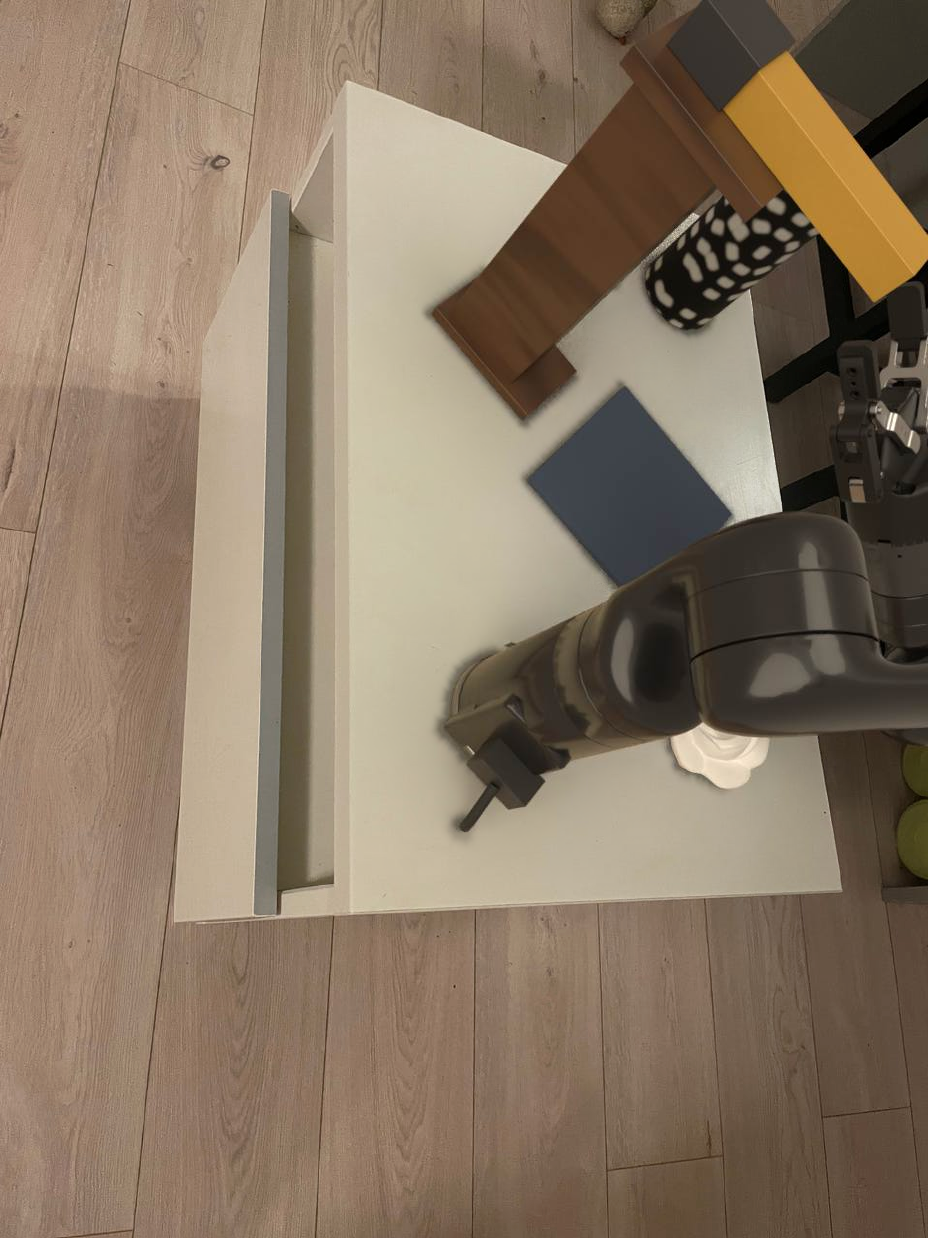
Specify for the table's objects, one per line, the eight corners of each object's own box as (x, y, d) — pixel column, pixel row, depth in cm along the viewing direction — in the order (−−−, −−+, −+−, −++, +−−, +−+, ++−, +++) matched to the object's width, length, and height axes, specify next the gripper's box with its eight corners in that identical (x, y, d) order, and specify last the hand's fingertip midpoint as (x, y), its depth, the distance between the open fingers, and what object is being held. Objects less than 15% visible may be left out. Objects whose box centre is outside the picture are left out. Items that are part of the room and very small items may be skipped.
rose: (801, 774, 78) (717, 794, 74) (763, 780, 82) (681, 799, 78) (770, 660, 80) (686, 672, 76) (734, 671, 84) (652, 683, 79)
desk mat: (645, 618, 81) (649, 616, 81) (526, 480, 79) (529, 477, 79) (728, 516, 89) (732, 513, 89) (621, 388, 87) (625, 385, 87)
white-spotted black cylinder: (706, 343, 94) (867, 219, 77) (641, 307, 91) (793, 170, 74) (712, 280, 98) (868, 148, 81) (649, 243, 95) (797, 98, 78)
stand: (515, 426, 80) (762, 207, 55) (423, 318, 79) (633, 43, 54) (577, 371, 85) (829, 147, 60) (491, 268, 84) (713, -5, 59)
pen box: (870, 306, 57) (919, 273, 54) (665, 44, 55) (705, -6, 52) (899, 272, 60) (947, 239, 57) (704, 19, 58) (744, -29, 55)
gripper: (989, 471, 69) (978, 259, 61) (924, 584, 62) (901, 361, 54) (886, 467, 75) (863, 272, 66) (814, 572, 67) (778, 367, 59)
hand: (880, 312), depth 60 cm, fingers open, 8 cm apart
